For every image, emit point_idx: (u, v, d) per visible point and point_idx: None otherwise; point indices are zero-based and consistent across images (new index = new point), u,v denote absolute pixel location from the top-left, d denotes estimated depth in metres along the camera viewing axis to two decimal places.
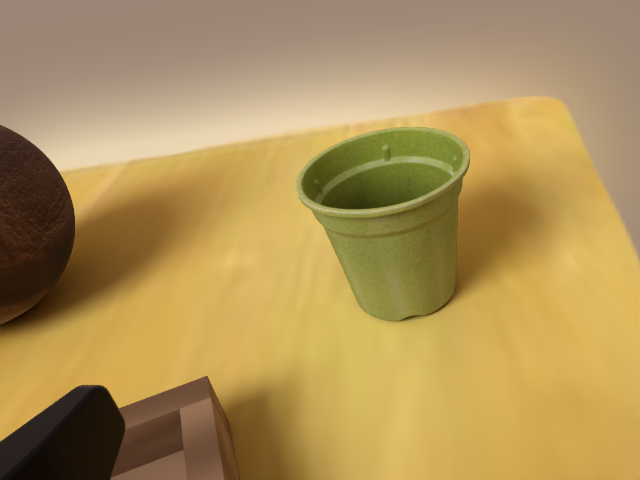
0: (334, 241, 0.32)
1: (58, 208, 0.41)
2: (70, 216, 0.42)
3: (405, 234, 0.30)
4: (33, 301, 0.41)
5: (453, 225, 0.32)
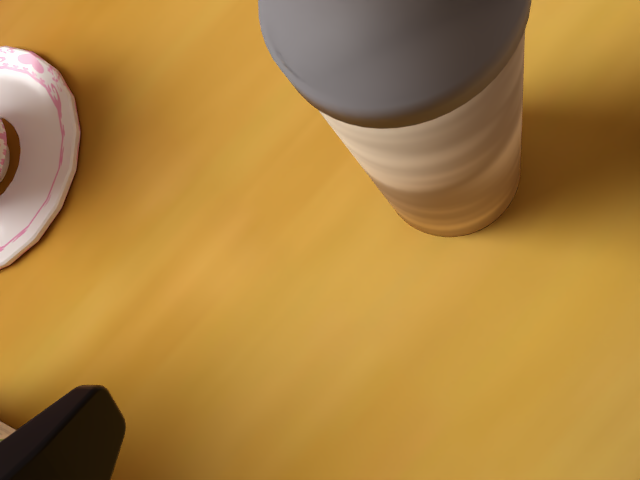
0: None
1: None
2: None
3: None
4: None
5: None
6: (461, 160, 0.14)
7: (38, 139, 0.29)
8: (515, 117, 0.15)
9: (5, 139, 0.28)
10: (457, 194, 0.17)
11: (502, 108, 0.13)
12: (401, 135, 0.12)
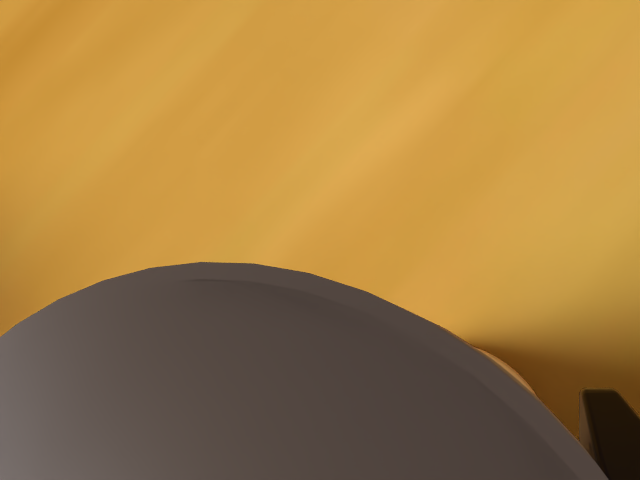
0: None
1: None
2: None
3: None
4: None
5: None
6: None
7: None
8: None
9: None
10: None
11: None
12: None
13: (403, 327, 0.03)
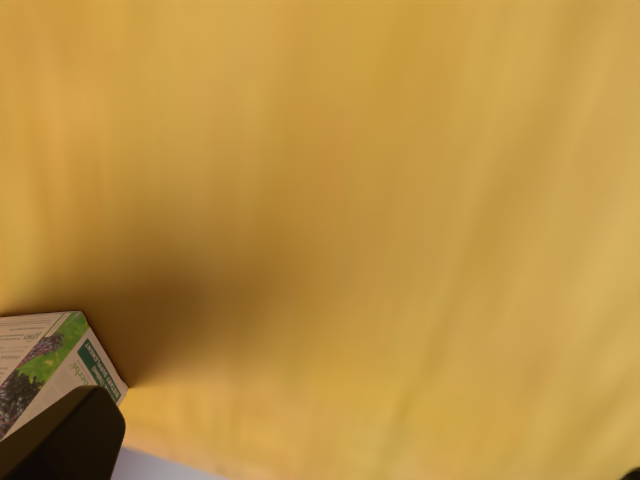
0: None
1: None
2: None
3: None
4: None
5: None
6: None
7: None
8: None
9: None
10: None
11: None
12: None
13: None
